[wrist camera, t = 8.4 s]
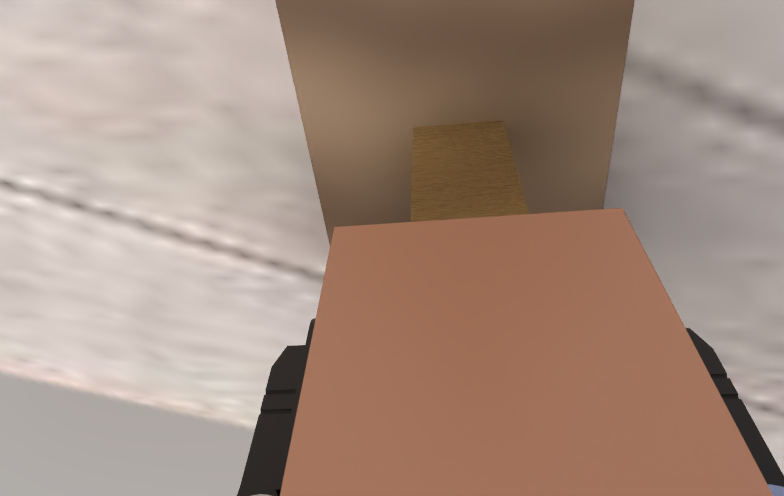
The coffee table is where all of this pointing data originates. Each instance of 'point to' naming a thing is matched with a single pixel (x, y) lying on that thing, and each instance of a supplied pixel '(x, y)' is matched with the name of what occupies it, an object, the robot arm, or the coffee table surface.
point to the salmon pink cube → (507, 368)
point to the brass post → (464, 172)
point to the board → (455, 93)
